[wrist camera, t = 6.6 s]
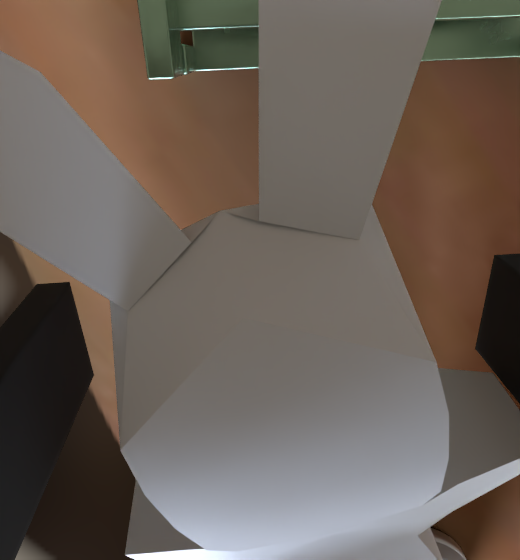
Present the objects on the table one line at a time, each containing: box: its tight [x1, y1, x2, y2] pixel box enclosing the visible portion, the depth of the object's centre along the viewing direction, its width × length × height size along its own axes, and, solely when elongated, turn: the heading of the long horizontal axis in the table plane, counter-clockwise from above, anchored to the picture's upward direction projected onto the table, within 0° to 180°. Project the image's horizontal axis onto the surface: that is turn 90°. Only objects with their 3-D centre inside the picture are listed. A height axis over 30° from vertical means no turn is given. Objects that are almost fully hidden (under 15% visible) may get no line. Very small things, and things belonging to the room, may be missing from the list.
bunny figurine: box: [0, 0, 520, 560], centre depth 10 cm, size 10×5×15 cm
